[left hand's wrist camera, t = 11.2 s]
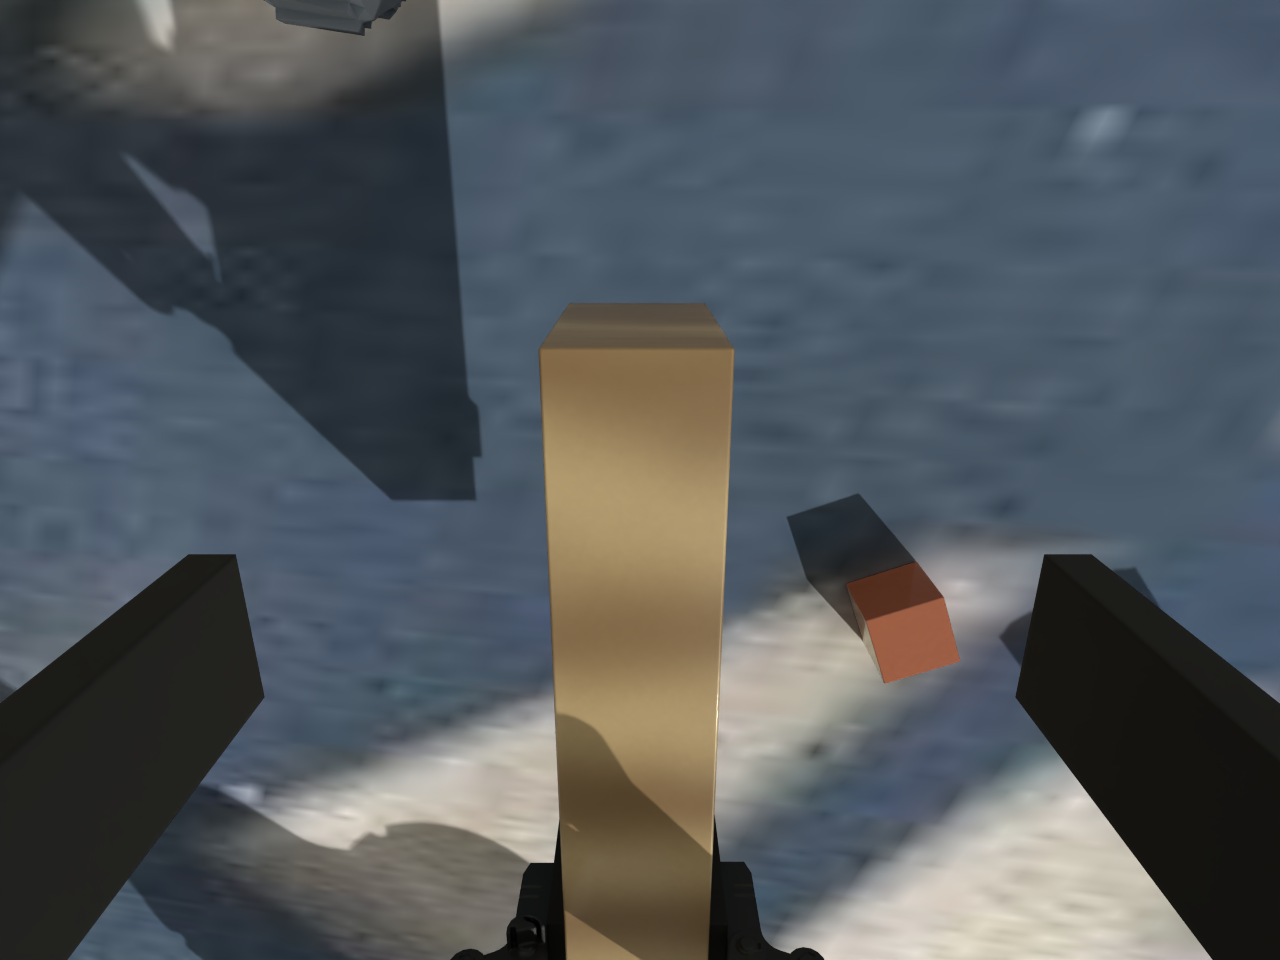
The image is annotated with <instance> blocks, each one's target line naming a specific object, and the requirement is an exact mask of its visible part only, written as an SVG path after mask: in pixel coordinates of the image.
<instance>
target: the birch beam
mask: <svg viewBox="0 0 1280 960" xmlns="http://www.w3.org/2000/svg"><path fill="white" fill-rule="evenodd" d="M539 371H540V393H541V416H542V438H543V460H544V483H545V505H546V527H547V550H548V572H549V595H550V617H551V639H552V662H553V684H554V706H555V729H556V751H557V773H558V796H559V818H560V841H561V863H562V885H563V908H564V930H565V952H566V960H708V948H709V925H710V902H711V879H712V856H713V833H714V810H715V787H716V764H717V741H718V718H719V695H720V672H721V649H722V626H723V603H724V580H725V557H726V534H727V511H728V488H729V465H730V442H731V419H732V396H733V373H734V348H733V346H732V345H731V343H730V342H729V340H728V338H727V337H726V335H725V334H724V332H723V330H722V329H721V327H720V326H719V324H718V323H717V321H716V319H715V318H714V316H713V315H712V313H711V312H710V310H709V308H708V307H707V305H706V304H704V303H570V304H569V305H568V306H567V308H566V309H565V311H564V312H563V314H562V315H561V317H560V318H559V320H558V321H557V323H556V324H555V326H554V327H553V328H552V330H551V331H550V333H549V334H548V336H547V337H546V339H545V340H544V342H543V343H542V345H541V346H540V348H539Z"/></svg>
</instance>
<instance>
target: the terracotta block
mask: <svg viewBox="0 0 1280 960" xmlns="http://www.w3.org/2000/svg"><path fill="white" fill-rule="evenodd" d="M846 587H847V590H848V593H849V596H850V600H851V603H852V606H853V610H854V613H855V616H856V620H857V623H858V626H859V629H860V633H861V636H862V639H863V642H864V644H865V646H866V648H867V650H868V652H869V654H870V656H871V658H872V660H873V662H874V664H875V666H876V668H877V670H878V672H879V674H880V676H881V678H882V680H883V682H884V683H889V682H892V681H895V680H899V679H902V678H905V677H909V676H912V675H916V674H919V673H922V672H926V671H929V670H932V669H936V668H939V667H942V666H946V665H949V664H953V663H956V662H959V661H960V659H959V655H958V651H957V647H956V643H955V639H954V635H953V631H952V627H951V624H950V620H949V616H948V612H947V608H946V604H945V600H944V597H943V596H942V594H941V593H940V592H939V590H938V589H937V588H936V586H935V585H934V584H933V582H932V581H931V580H930V579H929V577H928V576H927V575H926V573H925V572H924V571H923V569H922V568H921V567H920V565H919V564H918V563H917V562H913V563H910V564H907V565H904V566H901V567H898V568H894V569H891V570H888V571H885V572H882V573H878V574H875V575H872V576H869V577H866V578H863V579H859V580H856V581H853V582H850V583H847V584H846Z"/></svg>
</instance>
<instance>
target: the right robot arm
mask: <svg viewBox="0 0 1280 960" xmlns="http://www.w3.org/2000/svg"><path fill="white" fill-rule="evenodd" d="M451 960H566V952H565V930H564V908H563V885H562V863H561V841H560V819H559V827H558V835H557V843H556V851H555V859H554V863H530V865H529V866H528V868H527V869H526V871H525V872H524V874H523V878H522V884H521V890H520V896H519V902H518V908H517V914H516V917H515V918H514V919H513V920H511V922H510V923H509V925H508V927H507V944H506V945H505V946H504V947H503V948H501V949H500V950H497V951H495V952H492V953H489V954H486V955H483V954H482V953H481V952H479V951H478V950H474V949H466V950H462V951H460V952H459V953H457V954H455V955H454V957H453V958H452V959H451ZM708 960H824V958H823V957H822V956H821V955H820V954H819V953H818V952H816V951H815V950H813V949H811V948H804V947H802V948H798V949H795V950H794V951H793V952H791V954H789V953H786V952H783V951H780V950H778V949H775V948H774V947H772V946H771V945H769V944H768V943H767V941H766V940H765V939H764V937H763V935H762V932H761V928H760V922H759V916H758V910H757V904H756V899H755V893H754V888H753V881H752V875H751V872H750V870H749V869H748V867H747V866H746V864H745V863H744V862H720V855H719V847H718V839H717V831H716V823H715V815H714V833H713V856H712V879H711V902H710V925H709V948H708Z"/></svg>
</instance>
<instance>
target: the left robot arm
mask: <svg viewBox="0 0 1280 960" xmlns="http://www.w3.org/2000/svg"><path fill="white" fill-rule="evenodd" d="M263 699H264V692H263V687H262V682H261V677H260V672H259V667H258V662H257V657H256V653H255V648H254V643H253V638H252V633H251V628H250V623H249V618H248V613H247V608H246V603H245V598H244V593H243V588H242V583H241V578H240V573H239V568H238V563H237V559H236V554H188V555H187V556H186V557H185V558H183V559H182V560H181V561H180V562H178V563H177V564H176V565H175V566H173V567H172V568H171V569H170V570H168V571H167V572H166V573H164V574H163V575H162V576H161V577H159V578H158V579H157V580H156V581H154V582H153V583H152V584H151V585H149V586H148V587H147V588H146V589H144V590H143V591H142V592H140V593H139V594H138V595H137V596H135V597H134V598H133V599H132V600H130V601H129V602H128V603H127V604H125V605H124V606H123V607H122V608H120V609H119V610H118V611H116V612H115V613H114V614H113V615H111V616H110V617H109V618H108V619H106V620H105V621H104V622H103V623H101V624H100V625H99V626H98V627H96V628H95V629H94V630H92V631H91V632H90V633H89V634H87V635H86V636H85V637H84V638H82V639H81V640H80V641H79V642H77V643H76V644H75V645H74V646H72V647H71V648H70V649H68V650H67V651H66V652H65V653H63V654H62V655H61V656H60V657H58V658H57V659H56V660H55V661H53V662H52V663H51V664H50V665H48V666H47V667H46V668H44V669H43V670H42V671H41V672H39V673H38V674H37V675H36V676H34V677H33V678H32V679H31V680H29V681H28V682H27V683H26V684H24V685H23V686H22V687H20V688H19V689H18V690H17V691H15V692H14V693H13V694H12V695H10V696H9V697H8V698H7V699H5V700H4V701H3V702H2V703H0V960H68V958H69V957H70V956H71V954H72V953H73V952H74V950H75V949H76V948H77V946H78V945H79V944H80V942H81V941H82V940H83V938H84V937H85V936H86V934H87V933H88V932H89V930H90V929H91V928H92V926H93V925H94V924H95V922H96V921H97V920H98V918H99V917H100V916H101V914H102V913H103V912H104V910H105V909H106V908H107V906H108V905H109V904H110V902H111V901H112V900H113V898H114V897H115V896H116V894H117V893H118V892H119V890H120V889H121V888H122V886H123V885H124V884H125V882H126V881H127V880H128V878H129V877H130V876H131V874H132V873H133V872H134V870H135V869H136V868H137V866H138V865H139V864H140V862H141V861H142V860H143V858H144V857H145V856H146V854H147V853H148V852H149V850H150V849H151V848H152V846H153V845H154V844H155V842H156V841H157V840H158V838H159V837H160V836H161V834H162V833H163V832H164V830H165V829H166V828H167V826H168V825H169V824H170V822H171V821H172V820H173V818H174V817H175V816H176V814H177V813H178V812H179V810H180V809H181V808H182V806H183V805H184V804H185V802H186V801H187V800H188V798H189V797H190V796H191V794H192V793H193V792H194V790H195V789H196V788H197V786H198V785H199V784H200V782H201V781H202V780H203V778H204V777H205V776H206V774H207V773H208V772H209V770H210V769H211V768H212V766H213V765H214V764H215V762H216V761H217V760H218V758H219V757H220V756H221V754H222V753H223V752H224V750H225V749H226V748H227V746H228V745H229V744H230V742H231V741H232V740H233V738H234V737H235V736H236V734H237V733H238V732H239V730H240V729H241V728H242V726H243V725H244V724H245V722H246V721H247V720H248V718H249V717H250V716H251V714H252V713H253V712H254V710H255V709H256V708H257V706H258V705H259V704H260V702H261V701H262V700H263ZM1016 699H1017V700H1018V701H1019V703H1020V704H1021V705H1022V706H1023V708H1024V709H1025V710H1026V712H1027V713H1028V714H1029V716H1030V717H1031V718H1032V720H1033V721H1034V722H1035V724H1036V725H1037V726H1038V728H1039V729H1040V730H1041V732H1042V733H1043V734H1044V736H1045V737H1046V738H1047V740H1048V741H1049V742H1050V744H1051V745H1052V746H1053V748H1054V749H1055V750H1056V752H1057V753H1058V754H1059V756H1060V757H1061V758H1062V760H1063V761H1064V762H1065V764H1066V765H1067V766H1068V768H1069V769H1070V770H1071V772H1072V773H1073V774H1074V776H1075V777H1076V778H1077V780H1078V781H1079V782H1080V784H1081V785H1082V786H1083V788H1084V789H1085V790H1086V792H1087V793H1088V794H1089V796H1090V797H1091V798H1092V800H1093V801H1094V802H1095V804H1096V805H1097V806H1098V808H1099V809H1100V810H1101V812H1102V813H1103V814H1104V816H1105V817H1106V818H1107V820H1108V821H1109V822H1110V824H1111V825H1112V826H1113V828H1114V829H1115V830H1116V832H1117V833H1118V834H1119V836H1120V837H1121V838H1122V840H1123V841H1124V842H1125V844H1126V845H1127V846H1128V848H1129V849H1130V850H1131V852H1132V853H1133V854H1134V856H1135V857H1136V858H1137V860H1138V861H1139V862H1140V864H1141V865H1142V866H1143V868H1144V869H1145V870H1146V872H1147V873H1148V874H1149V876H1150V877H1151V878H1152V880H1153V881H1154V882H1155V884H1156V885H1157V886H1158V888H1159V889H1160V890H1161V892H1162V893H1163V894H1164V896H1165V897H1166V898H1167V900H1168V901H1169V902H1170V904H1171V905H1172V906H1173V908H1174V909H1175V910H1176V912H1177V913H1178V914H1179V916H1180V917H1181V918H1182V920H1183V921H1184V922H1185V924H1186V925H1187V926H1188V928H1189V929H1190V930H1191V932H1192V933H1193V934H1194V936H1195V937H1196V938H1197V940H1198V941H1199V942H1200V944H1201V945H1202V946H1203V948H1204V949H1205V950H1206V952H1207V953H1208V954H1209V956H1210V957H1211V958H1212V960H1280V703H1278V702H1277V701H1276V700H1275V699H1273V698H1272V697H1271V696H1270V695H1268V694H1267V693H1266V692H1265V691H1263V690H1262V689H1261V688H1260V687H1258V686H1257V685H1256V684H1254V683H1253V682H1252V681H1251V680H1249V679H1248V678H1247V677H1246V676H1244V675H1243V674H1242V673H1241V672H1239V671H1238V670H1237V669H1236V668H1234V667H1233V666H1232V665H1230V664H1229V663H1228V662H1227V661H1225V660H1224V659H1223V658H1222V657H1220V656H1219V655H1218V654H1217V653H1215V652H1214V651H1213V650H1212V649H1210V648H1209V647H1208V646H1206V645H1205V644H1204V643H1203V642H1201V641H1200V640H1199V639H1198V638H1196V637H1195V636H1194V635H1193V634H1191V633H1190V632H1189V631H1188V630H1186V629H1185V628H1184V627H1182V626H1181V625H1180V624H1179V623H1177V622H1176V621H1175V620H1174V619H1172V618H1171V617H1170V616H1169V615H1167V614H1166V613H1165V612H1164V611H1162V610H1161V609H1160V608H1158V607H1157V606H1156V605H1155V604H1153V603H1152V602H1151V601H1150V600H1148V599H1147V598H1146V597H1145V596H1143V595H1142V594H1141V593H1140V592H1138V591H1137V590H1136V589H1134V588H1133V587H1132V586H1131V585H1129V584H1128V583H1127V582H1126V581H1124V580H1123V579H1122V578H1121V577H1119V576H1118V575H1117V574H1116V573H1114V572H1113V571H1112V570H1110V569H1109V568H1108V567H1107V566H1105V565H1104V564H1103V563H1102V562H1100V561H1099V560H1098V559H1097V558H1095V557H1094V556H1093V555H1092V554H1044V558H1043V563H1042V568H1041V573H1040V578H1039V583H1038V588H1037V593H1036V598H1035V603H1034V608H1033V613H1032V618H1031V623H1030V628H1029V633H1028V638H1027V643H1026V648H1025V653H1024V657H1023V662H1022V667H1021V672H1020V677H1019V682H1018V687H1017V692H1016Z"/></svg>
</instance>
